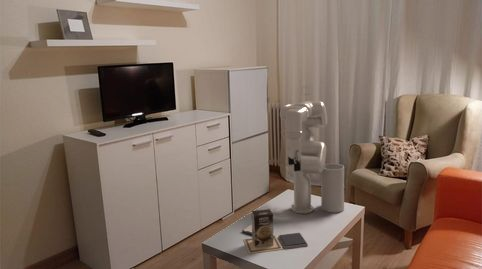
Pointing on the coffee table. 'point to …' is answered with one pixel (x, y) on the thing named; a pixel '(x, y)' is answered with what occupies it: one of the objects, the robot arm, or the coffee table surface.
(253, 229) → the coffee box
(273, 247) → the marked card
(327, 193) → the cylinder vase
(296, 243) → the pad
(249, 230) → the phone case
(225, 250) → the coffee table surface
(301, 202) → the robot arm
